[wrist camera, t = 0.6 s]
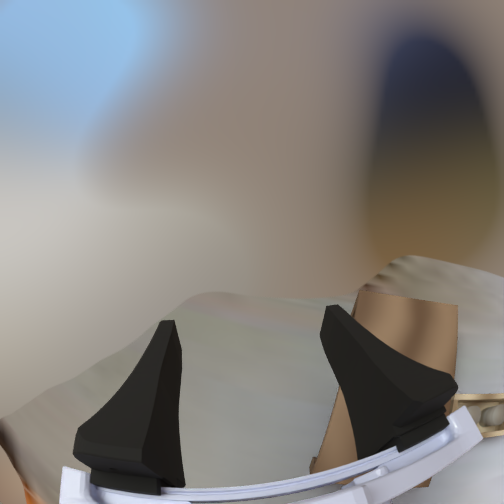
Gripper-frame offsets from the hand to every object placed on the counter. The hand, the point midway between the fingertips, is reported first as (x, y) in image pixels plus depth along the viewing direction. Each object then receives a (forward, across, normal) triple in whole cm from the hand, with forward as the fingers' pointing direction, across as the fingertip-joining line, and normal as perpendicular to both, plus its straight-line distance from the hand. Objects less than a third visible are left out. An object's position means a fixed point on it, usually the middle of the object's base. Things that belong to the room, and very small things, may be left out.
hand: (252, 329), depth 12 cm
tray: (-6, -24, +16) cm, 30 cm away
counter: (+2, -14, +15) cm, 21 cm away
